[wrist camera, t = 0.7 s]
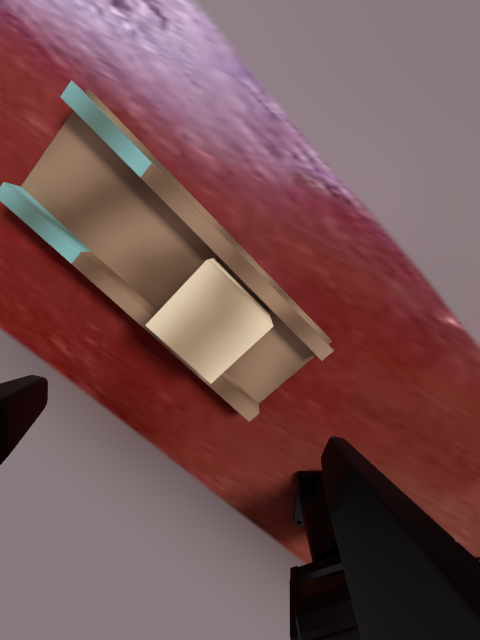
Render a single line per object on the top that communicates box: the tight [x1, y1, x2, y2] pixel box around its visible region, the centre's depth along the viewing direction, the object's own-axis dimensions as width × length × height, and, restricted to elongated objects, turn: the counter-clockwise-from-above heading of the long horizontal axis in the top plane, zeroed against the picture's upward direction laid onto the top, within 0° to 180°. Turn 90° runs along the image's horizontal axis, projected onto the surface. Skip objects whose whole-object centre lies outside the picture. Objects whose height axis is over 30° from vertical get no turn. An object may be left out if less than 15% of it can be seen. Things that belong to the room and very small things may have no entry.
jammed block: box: [145, 258, 273, 384], centre depth 19 cm, size 6×6×4 cm
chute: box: [0, 80, 334, 421], centre depth 20 cm, size 25×10×2 cm, turn 45°
